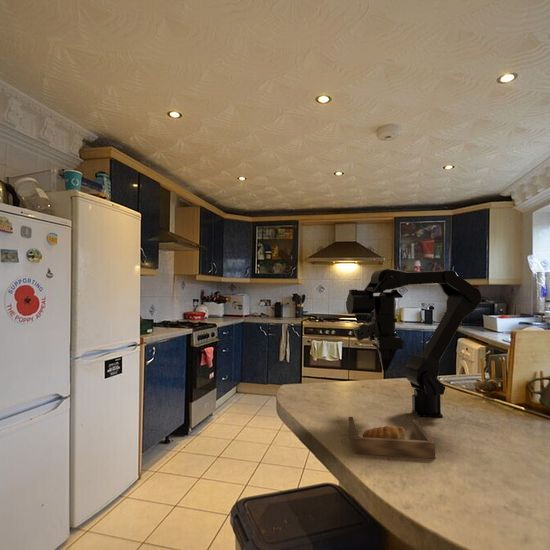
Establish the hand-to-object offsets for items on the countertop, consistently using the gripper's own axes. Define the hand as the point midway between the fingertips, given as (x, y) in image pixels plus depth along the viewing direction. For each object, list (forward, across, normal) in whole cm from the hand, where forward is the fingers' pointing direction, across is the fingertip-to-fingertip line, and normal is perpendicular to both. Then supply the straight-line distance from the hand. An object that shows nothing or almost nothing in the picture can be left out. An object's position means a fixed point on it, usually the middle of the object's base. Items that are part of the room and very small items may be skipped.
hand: (384, 370), depth 99 cm
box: (+12, +19, -3) cm, 22 cm away
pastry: (+12, +19, -3) cm, 23 cm away
